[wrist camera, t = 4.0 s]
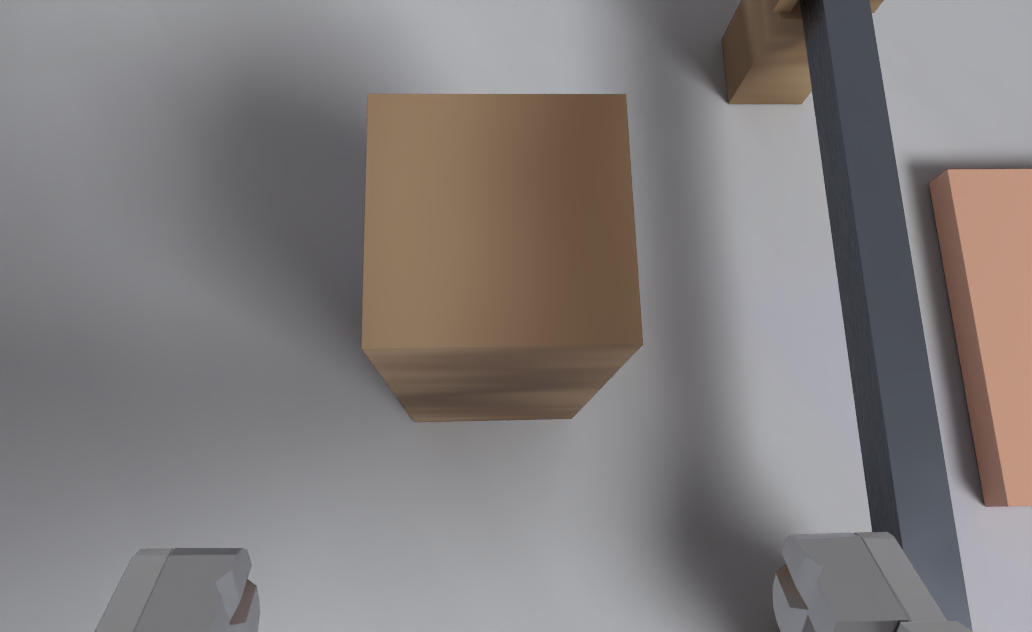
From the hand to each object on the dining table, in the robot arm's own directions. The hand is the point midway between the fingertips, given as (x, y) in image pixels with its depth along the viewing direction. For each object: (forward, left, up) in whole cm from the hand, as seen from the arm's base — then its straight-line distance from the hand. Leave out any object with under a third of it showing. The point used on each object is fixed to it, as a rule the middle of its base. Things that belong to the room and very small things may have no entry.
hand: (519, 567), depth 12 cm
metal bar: (+9, +6, -5) cm, 12 cm away
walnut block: (0, +6, -10) cm, 11 cm away
